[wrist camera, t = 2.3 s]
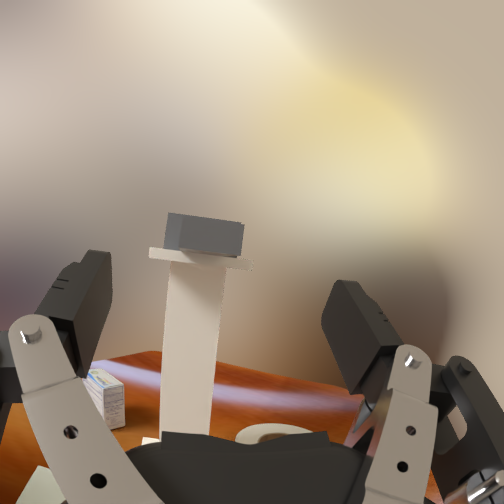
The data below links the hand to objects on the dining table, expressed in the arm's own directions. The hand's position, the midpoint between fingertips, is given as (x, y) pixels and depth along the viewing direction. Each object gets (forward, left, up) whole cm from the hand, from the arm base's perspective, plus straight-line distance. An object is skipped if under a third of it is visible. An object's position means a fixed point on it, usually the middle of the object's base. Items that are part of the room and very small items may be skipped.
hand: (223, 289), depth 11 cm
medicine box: (-14, +39, -30) cm, 51 cm away
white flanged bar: (0, +25, -30) cm, 39 cm away
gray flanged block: (0, +20, +1) cm, 20 cm away
